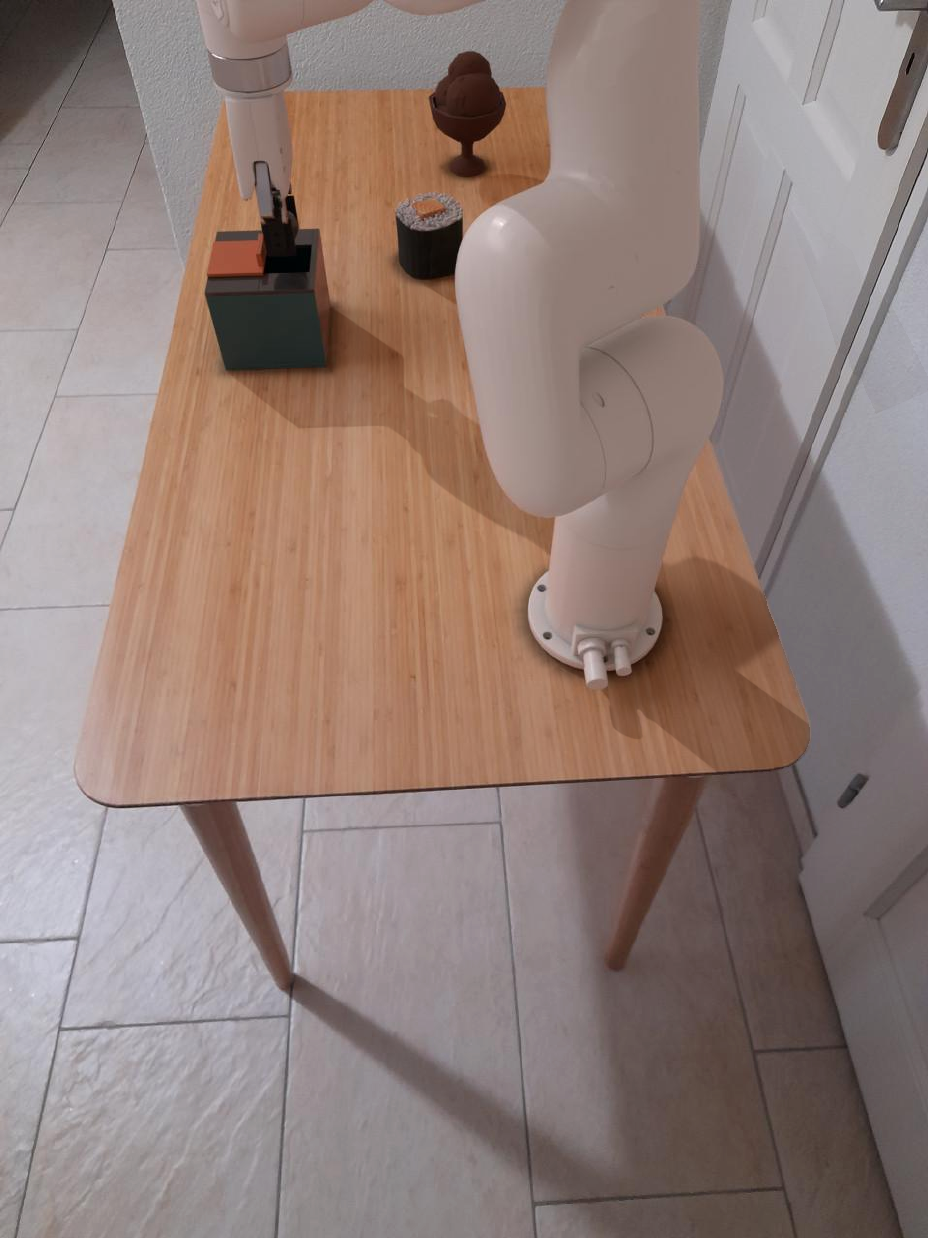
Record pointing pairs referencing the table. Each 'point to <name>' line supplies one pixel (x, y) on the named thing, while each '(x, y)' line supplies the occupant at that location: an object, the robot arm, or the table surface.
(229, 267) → the slider
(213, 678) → the table surface
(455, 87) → the ice cream bowl
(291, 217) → the ball
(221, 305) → the sliding lid box
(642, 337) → the robot arm
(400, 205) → the sushi
